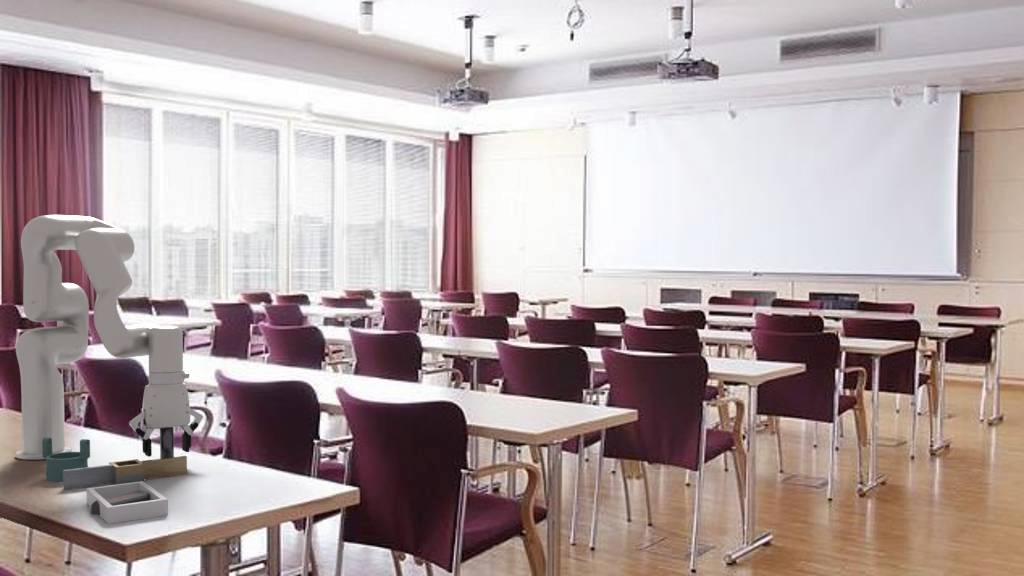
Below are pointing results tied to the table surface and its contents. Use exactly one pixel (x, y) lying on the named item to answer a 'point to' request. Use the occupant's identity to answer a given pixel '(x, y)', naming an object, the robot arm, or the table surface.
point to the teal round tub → (64, 459)
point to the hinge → (124, 472)
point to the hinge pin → (166, 442)
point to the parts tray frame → (127, 511)
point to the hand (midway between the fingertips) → (167, 453)
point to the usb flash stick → (122, 500)
